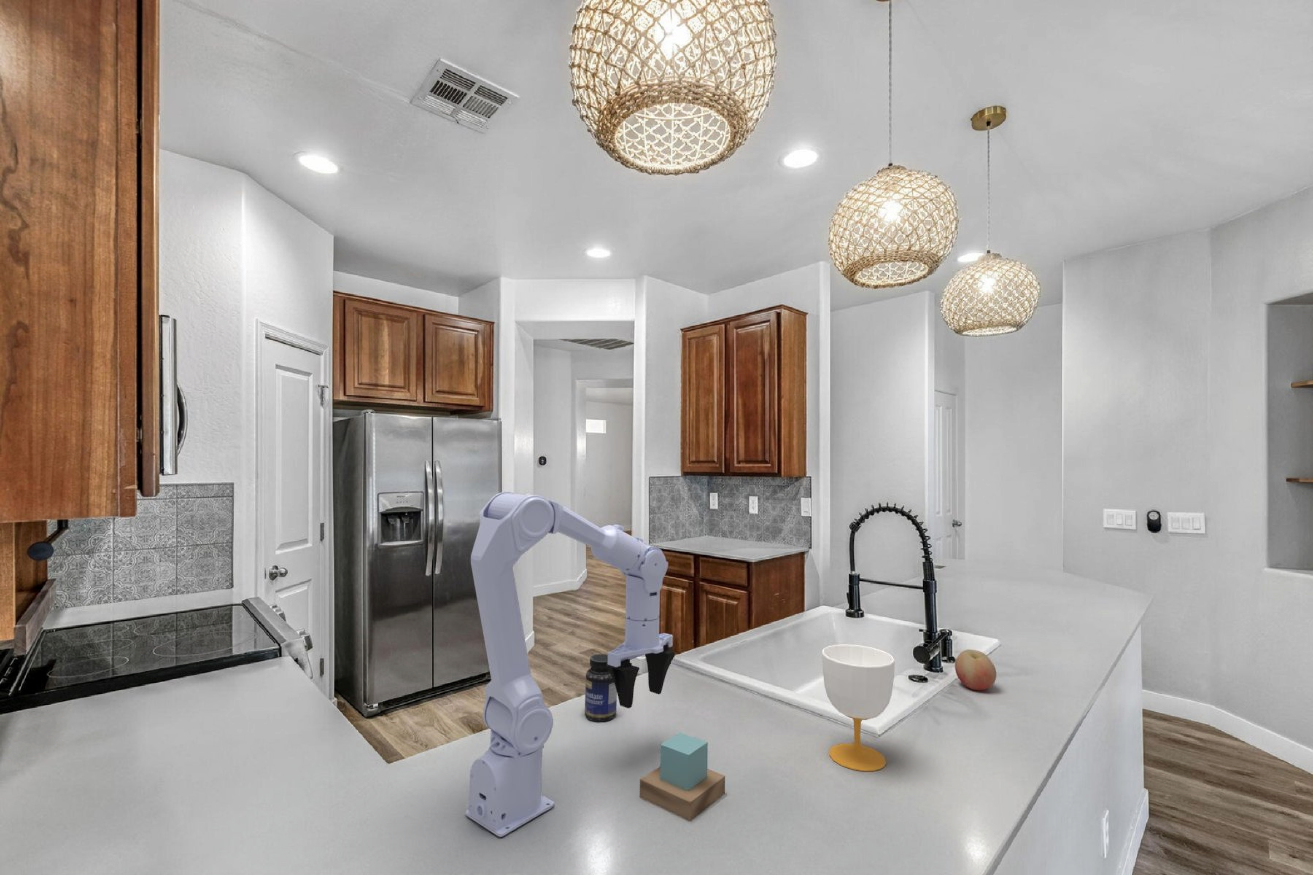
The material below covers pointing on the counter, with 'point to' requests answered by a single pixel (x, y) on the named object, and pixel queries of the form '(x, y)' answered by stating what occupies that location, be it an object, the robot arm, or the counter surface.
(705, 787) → the walnut block
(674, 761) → the teal cube
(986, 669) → the fruit
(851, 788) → the counter surface
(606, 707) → the pill bottle
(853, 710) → the cup
